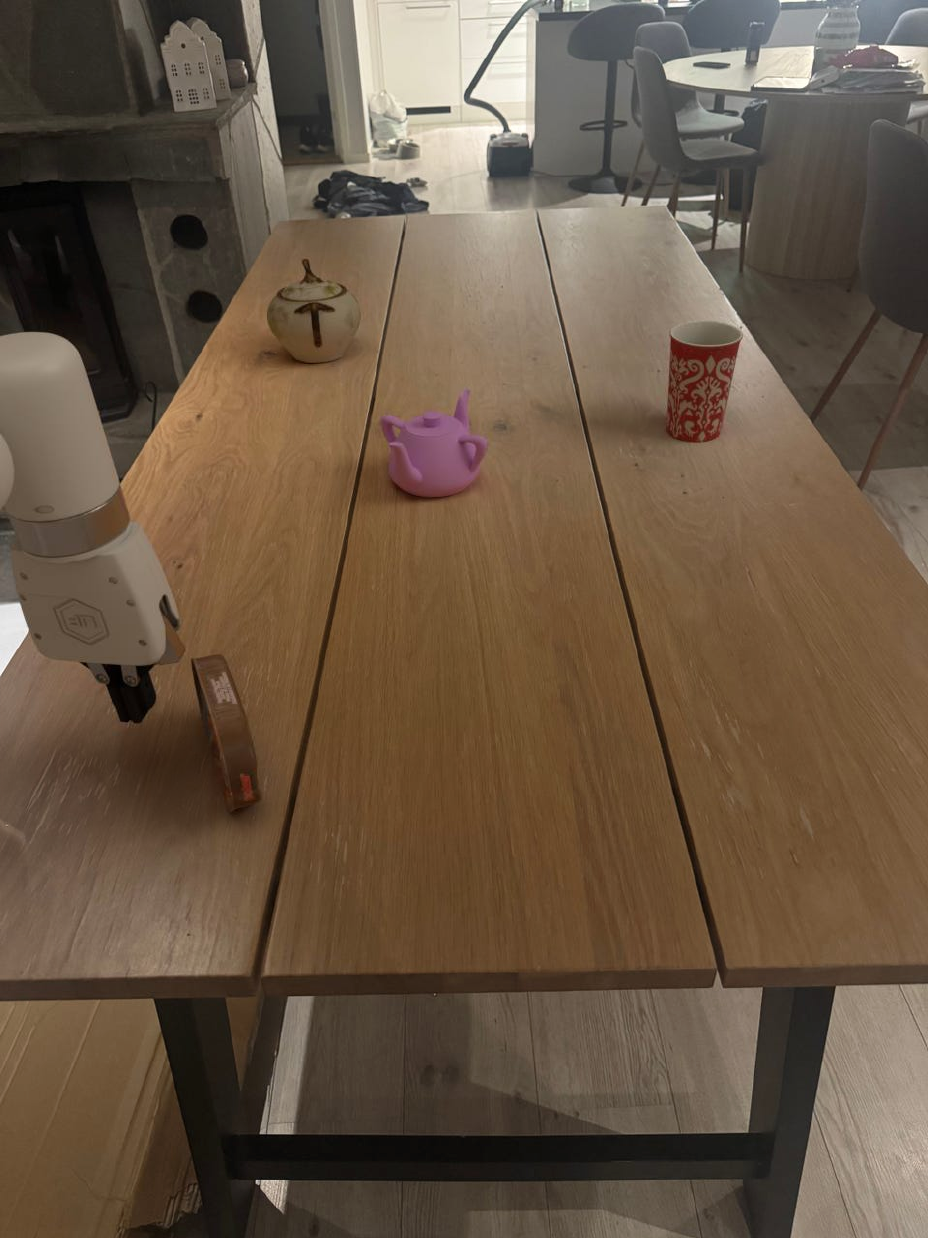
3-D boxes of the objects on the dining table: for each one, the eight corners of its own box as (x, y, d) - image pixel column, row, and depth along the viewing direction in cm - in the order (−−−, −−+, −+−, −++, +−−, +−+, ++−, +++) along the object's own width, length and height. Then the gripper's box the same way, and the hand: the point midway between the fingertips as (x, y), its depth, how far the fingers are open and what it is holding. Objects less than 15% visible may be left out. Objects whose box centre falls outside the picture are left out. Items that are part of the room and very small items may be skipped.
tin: (199, 714, 82) (179, 640, 77) (234, 704, 83) (216, 630, 78) (234, 834, 71) (213, 756, 66) (274, 821, 72) (256, 743, 67)
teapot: (394, 510, 110) (388, 442, 105) (382, 459, 121) (376, 395, 116) (492, 498, 112) (491, 431, 106) (471, 448, 123) (469, 385, 117)
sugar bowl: (273, 338, 160) (258, 247, 151) (359, 329, 161) (350, 239, 152) (274, 381, 144) (258, 282, 135) (370, 371, 146) (360, 273, 137)
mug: (737, 443, 121) (752, 342, 113) (668, 447, 121) (679, 346, 113) (711, 404, 131) (723, 309, 123) (647, 408, 131) (655, 312, 123)
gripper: (-58, 541, 63) (31, 736, 74) (149, 551, 60) (208, 751, 71) (2, 487, 69) (76, 675, 80) (193, 494, 66) (241, 687, 77)
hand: (138, 711), depth 76 cm, fingers closed
